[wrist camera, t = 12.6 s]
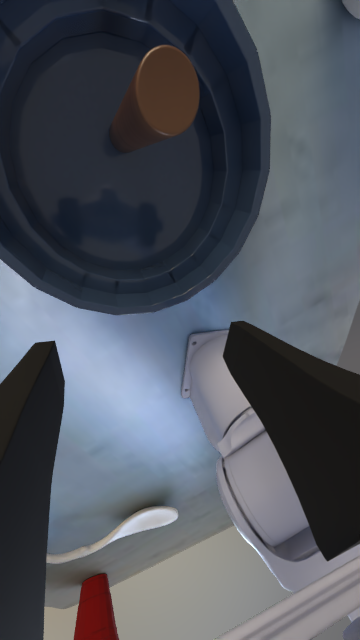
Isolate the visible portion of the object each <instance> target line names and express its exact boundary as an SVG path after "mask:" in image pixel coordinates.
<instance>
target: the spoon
mask: <svg viewBox="0 0 360 640" xmlns="http://www.w3.org/2000/svg"><path fill="white" fill-rule="evenodd" d="M177 518H178V510H177V509H176V508H173V507H168V506H154V507H148V508H145V509H142V510H140V511H138V512H136V513H134V514H133V515H131V516H130V517H128V518H127V519H126V520H124V521H123V522H122V523H121V524H120V525H118V526H117V527H116V528H115V529H114V530H113V531H112V532H111V533H110V534H108V535H107V536H106V537H104V538H103V539H101V540H100V541H98V542H96V543H94V544H91V545H88V546H82V547H80V548H78V549H76V550H73V551H70V552H67V553H63V554H50V553H47V557H46V562H48V563H64V562H67V561H70V560H73V559H77V558H80V557H85V556H87V555H88V554H91V553H93V552H95V551H97V550H99V549H101V548H102V547H104V546H106V545H107V544H109V543H110V542H112V541H114V540H116V539H118V538H121V537H124V536H127V535H131V534H134V533H137V532H140V531H144V530H148V529H152V528H156V527H160V526H164V525H167V524H169V523H171V522H173V521H175V520H176V519H177Z"/></svg>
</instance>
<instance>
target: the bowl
mask: <svg viewBox="0 0 360 640" xmlns="http://www.w3.org/2000/svg"><path fill="white" fill-rule="evenodd" d="M159 45H170V46H173V47H176V48H178V49H179V50H181V51H182V52H183V53H184V54H185V55H186V56H187V57H188V59H189V60H190V62H191V63H192V65H193V67H194V69H195V72H196V74H197V78H198V82H199V90H200V98H199V106H198V111H197V114H196V116H195V119H194V121H193V122H192V124H191V125H190V127H189V128H188V129H187V130H186V131H185V132H183V133H181V134H179V135H177V136H174V137H171V138H168V139H166V140H163V141H160V142H157V143H154V144H151V145H149V146H146V147H143V148H140V149H137V150H134V151H131V152H128V153H123V152H120V151H118V150H117V149H116V148H115V147H114V146H113V144H112V142H111V140H110V136H109V129H110V126H111V123H112V121H113V119H114V117H115V115H116V113H117V111H118V109H119V106H120V104H121V102H122V100H123V98H124V96H125V94H126V92H127V90H128V87H129V85H130V83H131V81H132V79H133V77H134V75H135V73H136V71H137V68H138V66H139V64H140V62H141V60H142V59H143V57H144V56H145V54H146V53H147V52H148V51H149V50H151V49H152V48H154V47H156V46H159ZM256 51H257V49H256V47H255V45H254V42H253V40H252V38H251V36H250V34H249V32H248V30H247V28H246V26H245V24H244V22H243V20H242V18H241V16H240V14H239V12H238V10H237V8H236V6H235V4H234V2H233V0H0V259H1V260H2V261H3V262H5V263H6V264H7V265H8V266H9V267H11V268H12V269H13V270H14V271H15V272H17V273H18V274H19V275H20V276H21V277H23V278H24V279H25V280H26V281H27V282H29V283H30V284H31V285H32V286H33V287H36V288H37V289H39V290H41V291H43V292H45V293H47V294H49V295H51V296H53V297H56V298H58V299H60V300H62V301H64V302H66V303H68V304H70V305H72V306H74V307H78V308H81V309H86V310H91V311H97V312H102V313H107V314H112V315H128V314H141V313H153V312H156V311H159V310H162V309H165V308H168V307H170V306H173V305H176V304H179V303H181V302H184V301H186V300H188V299H190V298H191V297H192V296H194V295H195V294H197V293H198V292H200V291H201V290H202V289H204V288H205V287H207V286H208V285H210V284H211V283H213V282H214V280H216V279H217V278H218V277H219V276H220V274H221V273H222V272H223V271H224V270H225V269H226V267H227V266H228V265H229V264H230V263H231V262H232V261H233V259H234V258H235V257H236V256H237V255H238V254H239V252H240V250H241V248H242V246H243V244H244V243H245V241H246V239H247V237H248V235H249V233H250V231H251V229H252V227H253V225H254V223H255V221H256V219H257V217H258V215H259V211H260V207H261V203H262V199H263V195H264V191H265V187H266V183H267V179H268V175H269V169H270V131H271V115H270V108H269V103H268V99H267V94H266V89H265V84H264V79H263V75H262V70H261V65H260V60H259V56H258V52H256Z"/></svg>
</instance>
